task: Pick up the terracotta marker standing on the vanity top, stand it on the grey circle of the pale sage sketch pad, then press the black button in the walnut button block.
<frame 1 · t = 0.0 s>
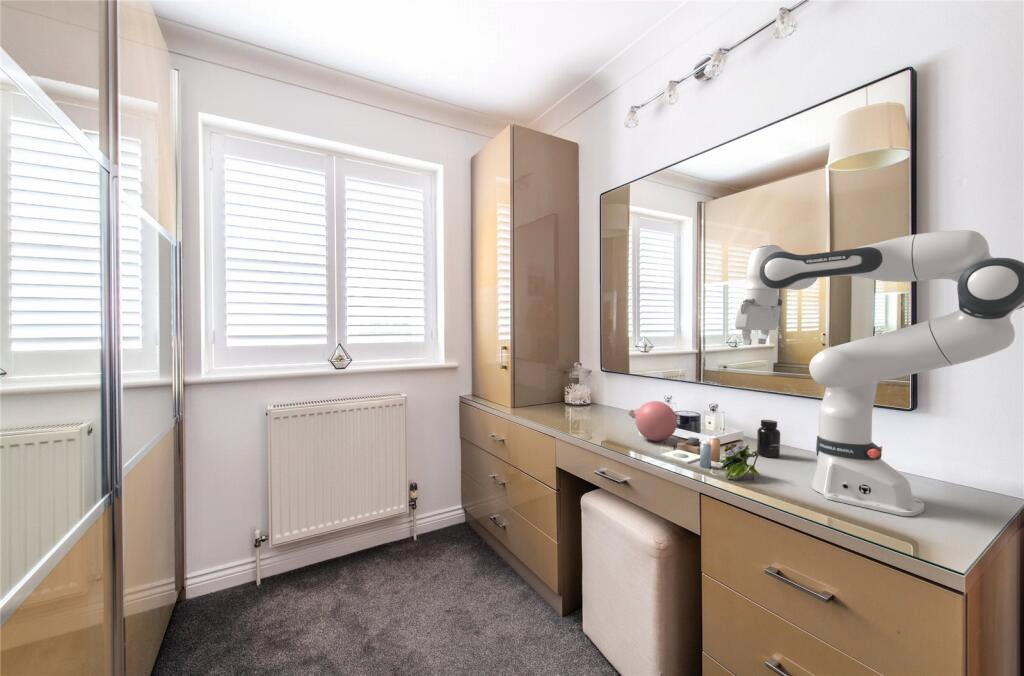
hand: (754, 344, 131), 39 cm above the table, tool pointing down, fingers open, 8 cm apart
terracotta marker: (714, 459, 141), on the table
passion flower: (740, 477, 125), on the table
supplement bottle: (768, 456, 146), on the table
done button: (693, 442, 151), point 3 cm above the table, slide at 0.0 cm
sketch pad: (682, 457, 144), on the table
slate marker: (705, 466, 134), on the table
button block: (693, 450, 151), on the table
pink balloon: (650, 439, 167), on the table
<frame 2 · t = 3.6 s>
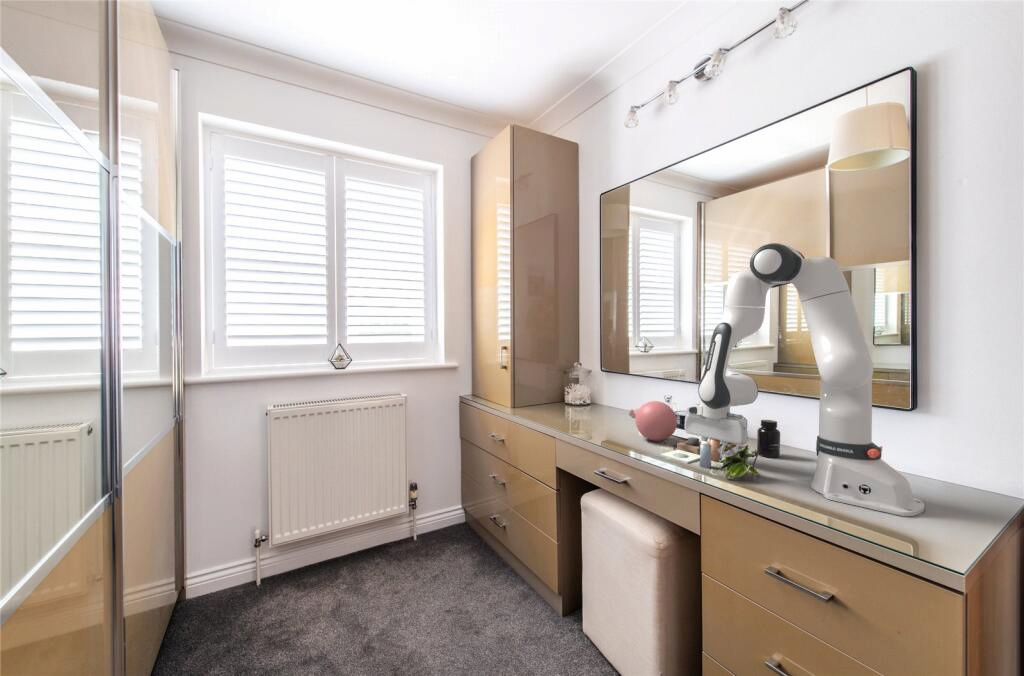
hand: (714, 452, 141), 3 cm above the table, tool pointing down, fingers closed on terracotta marker, 3 cm apart
terracotta marker: (714, 459, 141), on the table, touching gripper
everything else where it was.
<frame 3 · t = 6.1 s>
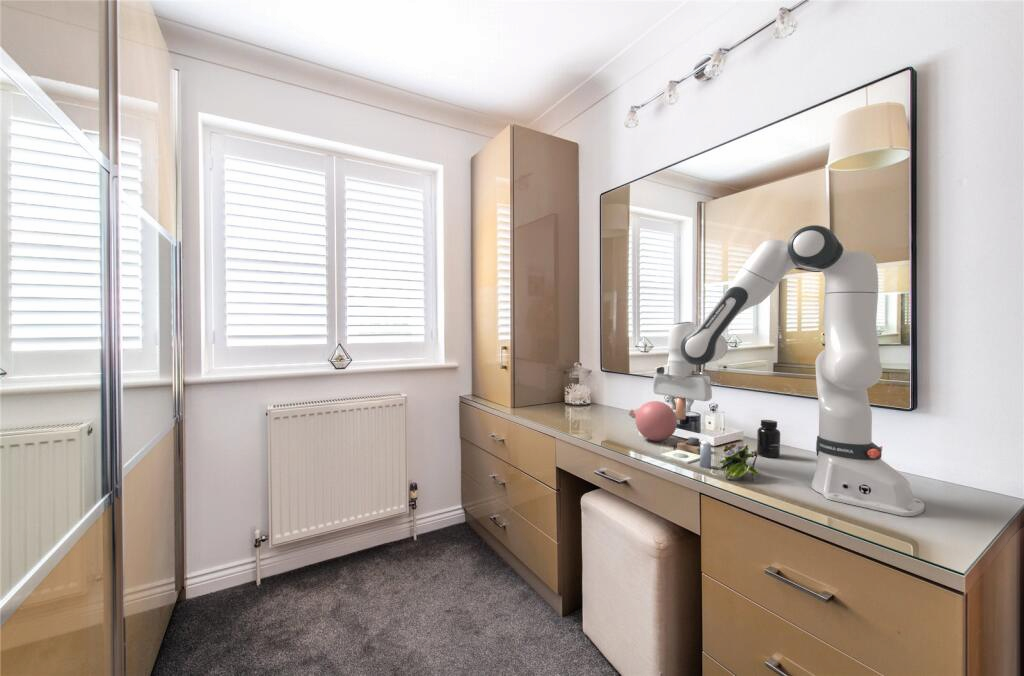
hand: (680, 410, 143), 16 cm above the table, tool pointing down, fingers closed on terracotta marker, 3 cm apart
terracotta marker: (680, 418, 143), point 13 cm above the table, touching gripper
everything else where it was.
when the fingers open (4 cm above the table, at t = 8.4 s): terracotta marker stays where it is, resting on sketch pad.
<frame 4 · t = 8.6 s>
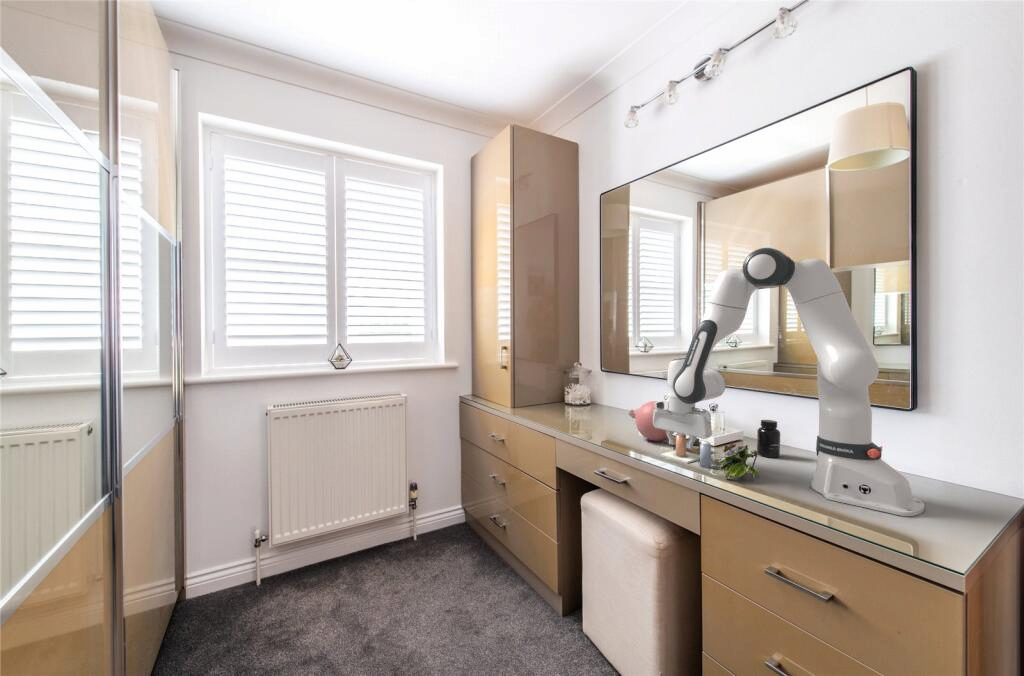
hand: (680, 446, 143), 4 cm above the table, tool pointing down, fingers open, 5 cm apart
terracotta marker: (680, 455, 143), point 1 cm above the table, touching sketch pad
everything else where it was.
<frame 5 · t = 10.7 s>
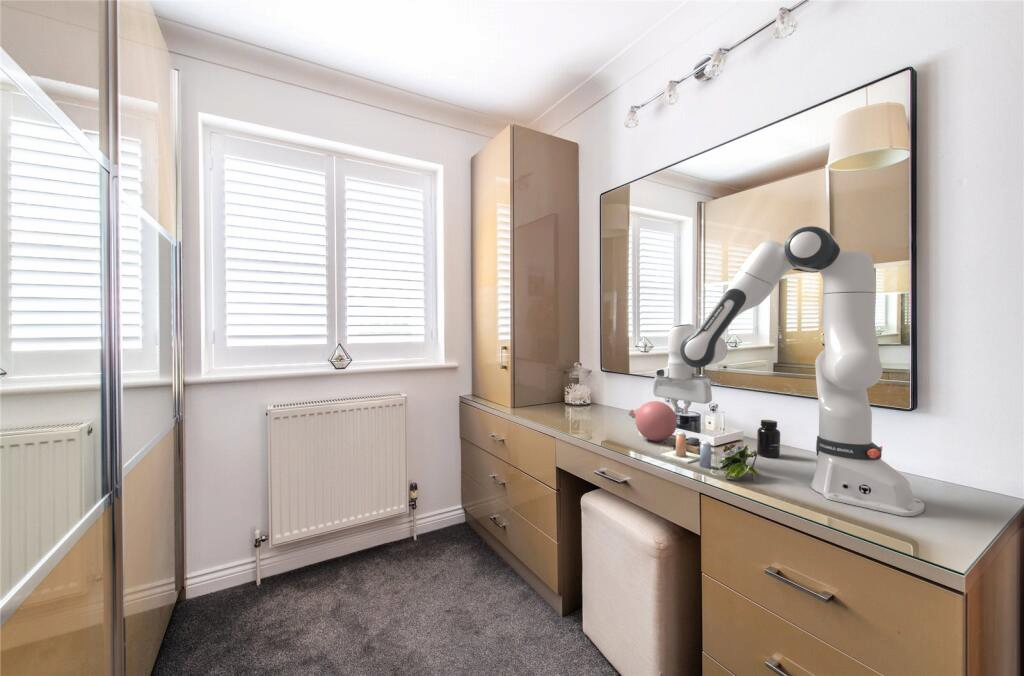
hand: (680, 413, 143), 15 cm above the table, tool pointing down, fingers closed
nothing on the table moved.
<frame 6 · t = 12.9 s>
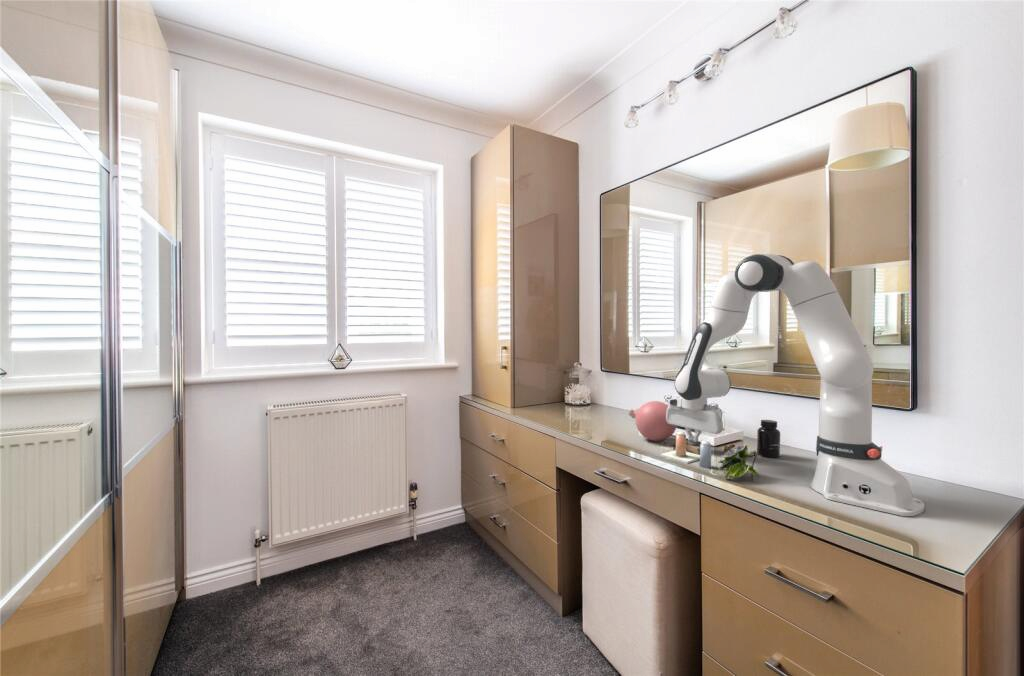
hand: (693, 441, 151), 3 cm above the table, tool pointing down, fingers closed, pressing on done button
done button: (693, 445, 151), point 2 cm above the table, slide at -1.0 cm, touching gripper
everything else where it was.
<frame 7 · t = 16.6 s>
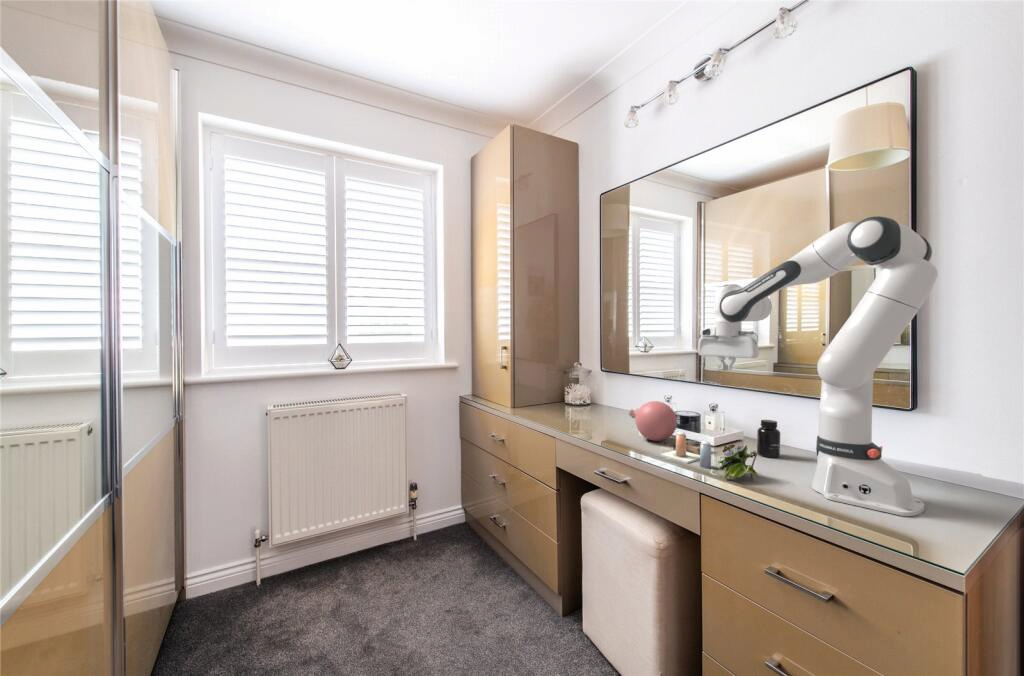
hand: (726, 369, 150), 29 cm above the table, tool pointing down, fingers closed
done button: (693, 446, 151), point 2 cm above the table, slide at -1.2 cm
everything else where it was.
at the end: terracotta marker 0.1 cm from the target spot on the sketch pad, point 0.7 cm above the sketch pad's base; terracotta marker tilted 0°; done button slide at -1.2 cm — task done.
